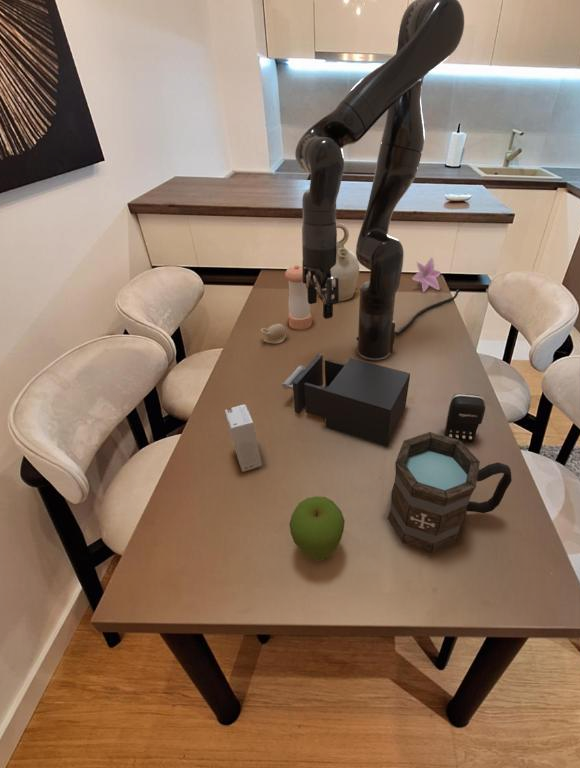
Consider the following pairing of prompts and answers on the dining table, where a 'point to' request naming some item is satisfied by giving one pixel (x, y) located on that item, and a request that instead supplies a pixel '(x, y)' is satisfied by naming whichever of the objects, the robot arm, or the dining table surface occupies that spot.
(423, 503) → the mug
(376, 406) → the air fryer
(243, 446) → the cosmetic box
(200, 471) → the dining table surface
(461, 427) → the battery charger
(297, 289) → the salt shaker
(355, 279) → the jug
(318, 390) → the drawer
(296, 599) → the dining table surface
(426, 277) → the lily
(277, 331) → the decorative ornament
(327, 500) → the apple
